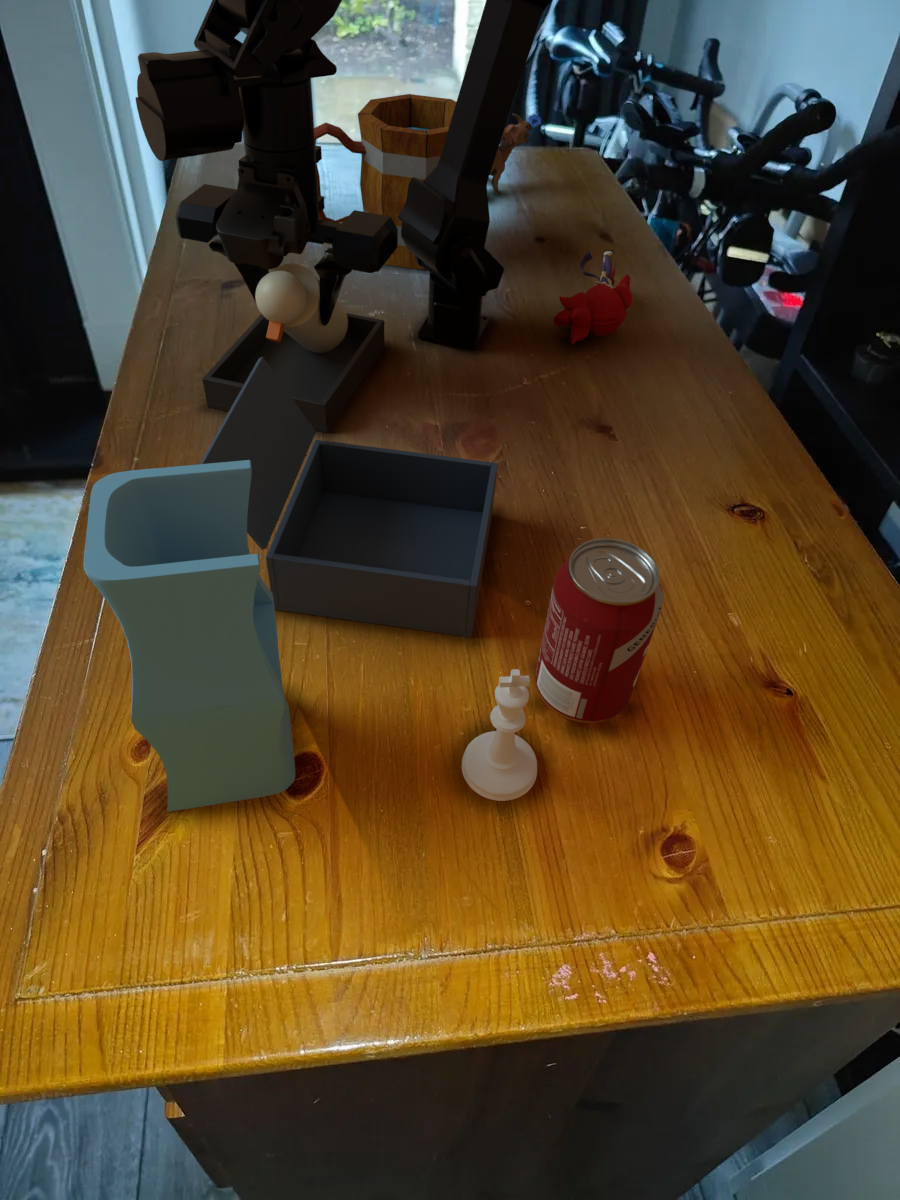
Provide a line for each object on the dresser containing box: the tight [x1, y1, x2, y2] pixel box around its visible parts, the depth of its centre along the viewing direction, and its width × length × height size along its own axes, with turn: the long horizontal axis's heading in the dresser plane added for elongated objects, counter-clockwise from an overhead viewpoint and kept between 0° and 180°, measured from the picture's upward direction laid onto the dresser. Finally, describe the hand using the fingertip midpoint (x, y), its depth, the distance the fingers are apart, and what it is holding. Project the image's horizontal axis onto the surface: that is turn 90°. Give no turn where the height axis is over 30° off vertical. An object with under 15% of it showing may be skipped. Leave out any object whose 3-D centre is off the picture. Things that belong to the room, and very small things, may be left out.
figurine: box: [553, 249, 634, 345], centre depth 93 cm, size 6×8×15 cm
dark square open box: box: [265, 439, 499, 638], centre depth 65 cm, size 14×15×6 cm
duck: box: [255, 263, 348, 353], centre depth 80 cm, size 8×6×13 cm
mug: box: [314, 93, 457, 271], centre depth 100 cm, size 20×14×15 cm
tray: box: [202, 312, 386, 434], centre depth 84 cm, size 16×12×3 cm
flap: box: [199, 357, 317, 551], centre depth 61 cm, size 14×7×1 cm
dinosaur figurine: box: [488, 113, 533, 200], centre depth 115 cm, size 14×6×9 cm, turn 139°
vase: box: [83, 460, 296, 813], centre depth 47 cm, size 8×8×20 cm
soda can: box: [534, 537, 664, 724], centre depth 55 cm, size 7×7×12 cm
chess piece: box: [461, 668, 538, 802], centre depth 51 cm, size 5×5×10 cm
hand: (295, 317), depth 80 cm, fingers closed on duck, 6 cm apart
